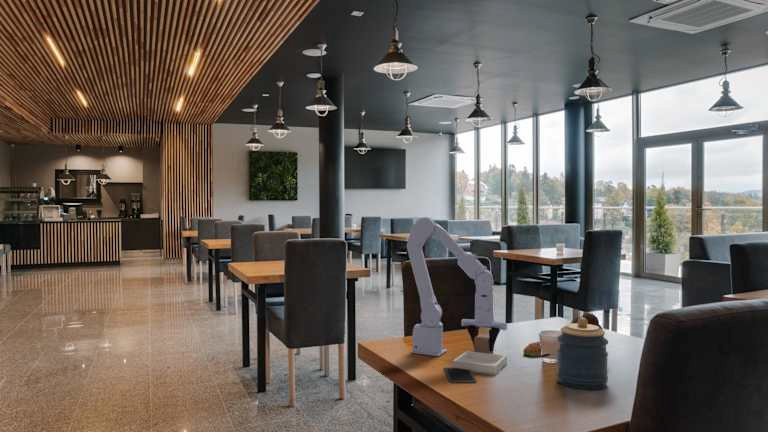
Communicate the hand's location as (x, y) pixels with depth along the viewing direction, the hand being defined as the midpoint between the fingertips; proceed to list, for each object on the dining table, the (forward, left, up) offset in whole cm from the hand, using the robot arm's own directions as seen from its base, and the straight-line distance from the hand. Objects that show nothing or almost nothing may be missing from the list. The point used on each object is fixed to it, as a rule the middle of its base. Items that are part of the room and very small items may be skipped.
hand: (483, 350), depth 177 cm
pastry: (+15, +10, -2) cm, 18 cm away
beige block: (0, 0, -2) cm, 2 cm away
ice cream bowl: (+30, +8, -2) cm, 31 cm away
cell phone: (0, -24, -2) cm, 25 cm away
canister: (+32, -15, -2) cm, 35 cm away
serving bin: (+3, -13, -2) cm, 13 cm away
